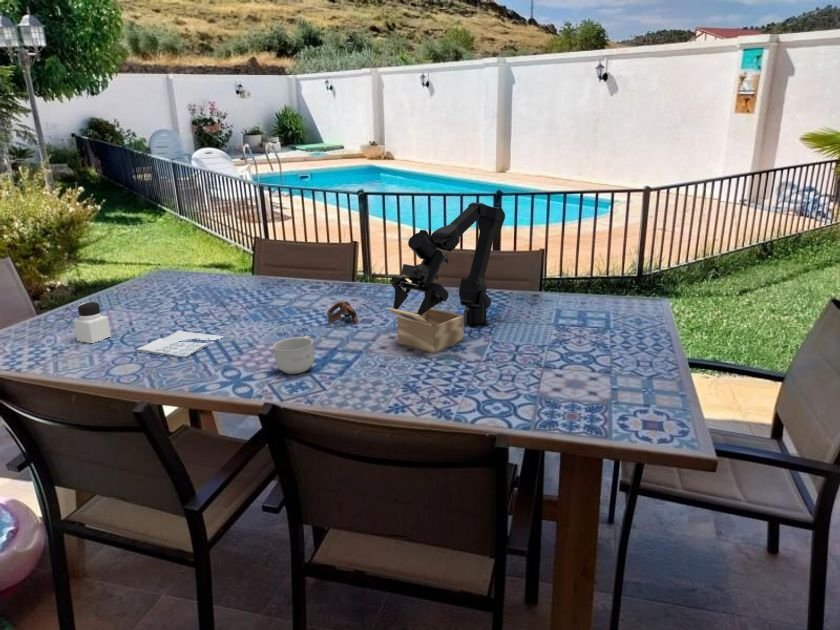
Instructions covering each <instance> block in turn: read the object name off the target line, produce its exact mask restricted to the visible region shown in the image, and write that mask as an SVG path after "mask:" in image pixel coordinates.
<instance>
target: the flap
mask: <svg viewBox="0 0 840 630" xmlns="http://www.w3.org/2000/svg"><path fill="white" fill-rule="evenodd" d="M386 309H387V310H389V311H390V312H391V313H393V314H394V315H395V316H396V317H397V318H401V319H405V320H409V321H413V322H417V323H421V324H425V325H429V326H432V325H431V324H430V323H429V322H428V321H426V320H425V319H424V318H423V317H421V316H420V315H418V314H414V313H413V312H409V311H405V310H401V309H393V308H392V307H389V306H388V307H387V308H386Z"/></svg>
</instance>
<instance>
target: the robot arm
mask: <svg viewBox="0 0 840 630" xmlns="http://www.w3.org/2000/svg"><path fill="white" fill-rule="evenodd" d="M505 219H506V213H505V211H504V210H503V208H502V207H499V206H498V207H496V206H490V205H487V204H486V203H484V202H483V203H482V202H471V203H469V204H468V206H467V208H465V209H464V210H463V211H462V212H460V213H459V215H457V217H455V219H453V220H452V221H450V223H449V224H447V225H445V226H442V227H439V228H437V229H436V230H434V231H433V232H432V233H431V234H430V235H429V232H428V231H427V230H425V229H419V231H418V232H416V233H414V234H413V235H412V236H411V237H409V239H408V240H407V241H408V243H407V246H408V247H409V249H411V251H412V252H413V253H414V254H415V255H416V256H417V257H418V258H419V259H420V260H421V263H419V264H416V265H411V264H407V263H406V264H405V263H403V264H402V268H401V273H400V275H401V276H399V275H393V276H392V277H391V279H390V281H389V283H390V284H391V287H393V289H394V301H393V309H397V310H399V308H400V307H401V306H402V305H403V303H404V302H405V301H406V299H407V298H408V297H409V293H410V292H411V291H417V292H420V293H421V292H422V293H424V298H423V300H422V302H421V304H420V306H419V309H418V310H417V311H418V313H417V314H418V315H420V316H421V315H423V314H424V313H425V312H427V311H428V310H429V309H431V308H434V307H435V306H437V305H438V304H442V303H443V302H445V303H446V302H447V300H448V298H449V291H448V290H446V288H445V287H444V286H443V284H441V283H435V282H434V281H435V280H436V281H437V280H439V278H440V277H439V276H438V273H439V271H440V270H441V267H442V265H443V264H446V265H447V264H449V259H448V254H446V253H443V252H451V253H452V251H454V250H455V249H456V247H457V246H458V245H459V243H460V241H461V240H460V239H461V237H462V235H463V234H464V233H465V232H467V230H468V229H470V228H471V226H473V225H474V223H476V224H477V227H478V230H479V231H478V232H479V234H478V236H477V237H478V238H477V241H476V245H475V250H474V255H473V259H472V260H471V261H472V262H471V266H470V269H469V270H470V271H469V273H468V276H466V277H465V278H461V280H460V286H459V288H458V291H459V292H458V297H459V300H460V305H461V306H464V311H463V316H464V325H467V326H468V327H470V328H475V327H481V326H482V327H483V326H489V322H487V309H489V308H490V307H491V305H492V299H491V298H490V296H488V294H487V288H488V287H487V283H486V280H485V275H486V272H487V268H488V263H489V260H490V256H491V252H492V248H493V243H494V240H495V235H497V234H498V233H499V232H500V230H502V227H503V225H504V223H505ZM442 251H443V252H442ZM404 276H406V277H407V278H405V277H404ZM407 279H408V280H407ZM409 281H411V282H409Z"/></svg>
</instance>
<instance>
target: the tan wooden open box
mask: <svg viewBox="0 0 840 630" xmlns="http://www.w3.org/2000/svg"><path fill="white" fill-rule="evenodd" d="M412 313H414V314H417V313H418V310H417V311H413V312H412ZM421 317H423V318H424V319H425V320H426V321H428V322H429V323H430V324H431V325H432V326H429V325H425V324H421V323H417V322H413V321H409V320H405V319H401V318H399V317H397V318H396V326H397V327H396V328H397V329H396V330H397V338H398V345H399V344H400V345H403V346H406V347H410V348H414V349H417V350H420V351H423V352H427V353H430V354H436V353H438V352H440V351H443V350H445V349H447V348H449V347H453V346H455V345H457V344H459V343H461V342H463V341H464V335H465V334H464V333H465V332H464V331H465V329H464V328H465V327H464V326H465V323H464V314H463V315H462V314H458V313H453V312H449V311H445V310H441V309H437V308H434V307H432V308H431V309H429V310H428V311H427V312H425V313H424V314H423V315H421Z"/></svg>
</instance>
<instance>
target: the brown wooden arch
mask: <svg viewBox="0 0 840 630" xmlns="http://www.w3.org/2000/svg"><path fill="white" fill-rule="evenodd" d="M337 309H338V310H337ZM336 310H337V311H336ZM334 311H336V312H334ZM342 315H343V317H344V318H350V317H351V320H352V321H354V322H355V325H358V324H359V319H358V316H357V313H356V311H355V308H353V307H352V306H351V304H350V303H349V301H340V302H337V303H335V304H334V305H332V306H331V307H330V308H329V309H328V312H327V313H326V316H327V319H328V322H329V324H332V323H333V322H336V321H342Z"/></svg>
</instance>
